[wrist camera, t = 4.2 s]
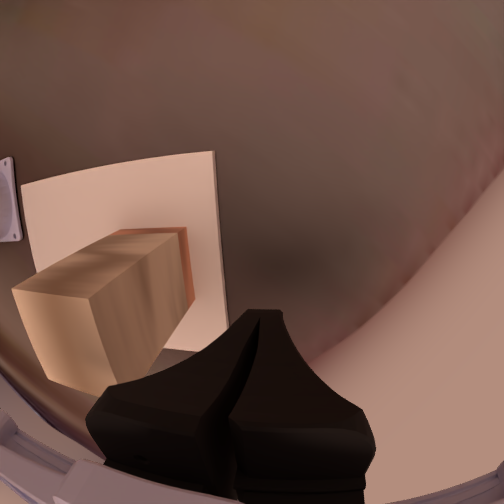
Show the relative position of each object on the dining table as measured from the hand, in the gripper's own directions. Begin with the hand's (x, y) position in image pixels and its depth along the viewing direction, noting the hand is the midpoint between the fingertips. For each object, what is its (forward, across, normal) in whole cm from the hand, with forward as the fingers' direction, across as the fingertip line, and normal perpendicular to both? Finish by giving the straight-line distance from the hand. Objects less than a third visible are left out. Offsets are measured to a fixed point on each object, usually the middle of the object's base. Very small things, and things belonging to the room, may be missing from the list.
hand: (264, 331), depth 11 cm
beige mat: (+8, +12, 0) cm, 15 cm away
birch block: (+7, +8, 0) cm, 11 cm away
